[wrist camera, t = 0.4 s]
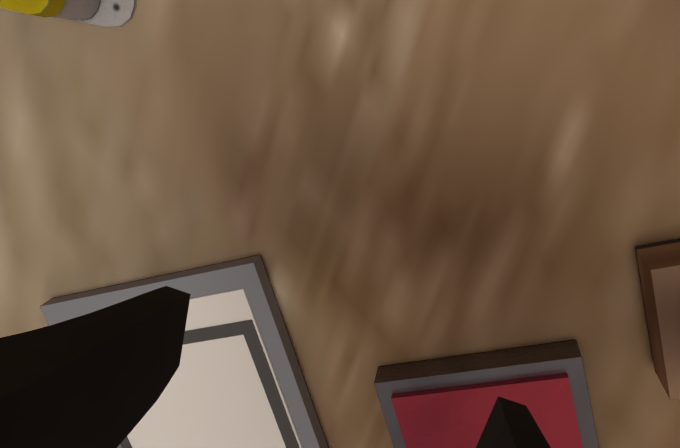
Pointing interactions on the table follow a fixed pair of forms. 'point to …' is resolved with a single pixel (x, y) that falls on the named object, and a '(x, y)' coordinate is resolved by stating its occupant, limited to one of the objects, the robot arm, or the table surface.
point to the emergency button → (77, 10)
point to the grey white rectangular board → (219, 363)
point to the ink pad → (487, 396)
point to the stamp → (663, 309)
